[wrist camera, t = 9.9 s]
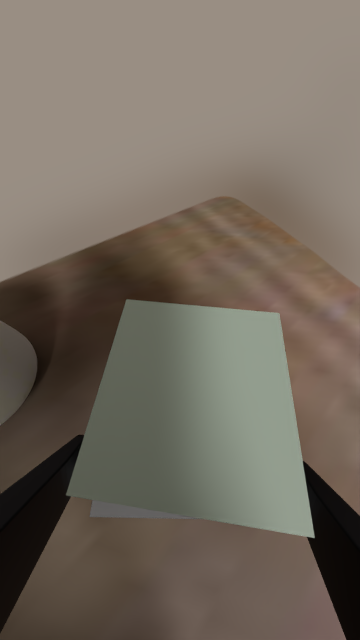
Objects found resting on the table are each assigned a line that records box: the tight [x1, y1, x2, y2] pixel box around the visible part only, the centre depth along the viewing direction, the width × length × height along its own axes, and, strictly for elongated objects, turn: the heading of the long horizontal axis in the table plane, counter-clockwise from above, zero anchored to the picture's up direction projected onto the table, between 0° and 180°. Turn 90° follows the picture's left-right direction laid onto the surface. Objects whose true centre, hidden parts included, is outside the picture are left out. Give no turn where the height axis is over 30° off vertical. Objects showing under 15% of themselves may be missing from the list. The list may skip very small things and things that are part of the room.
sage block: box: [66, 299, 315, 538], centre depth 11 cm, size 5×5×13 cm
